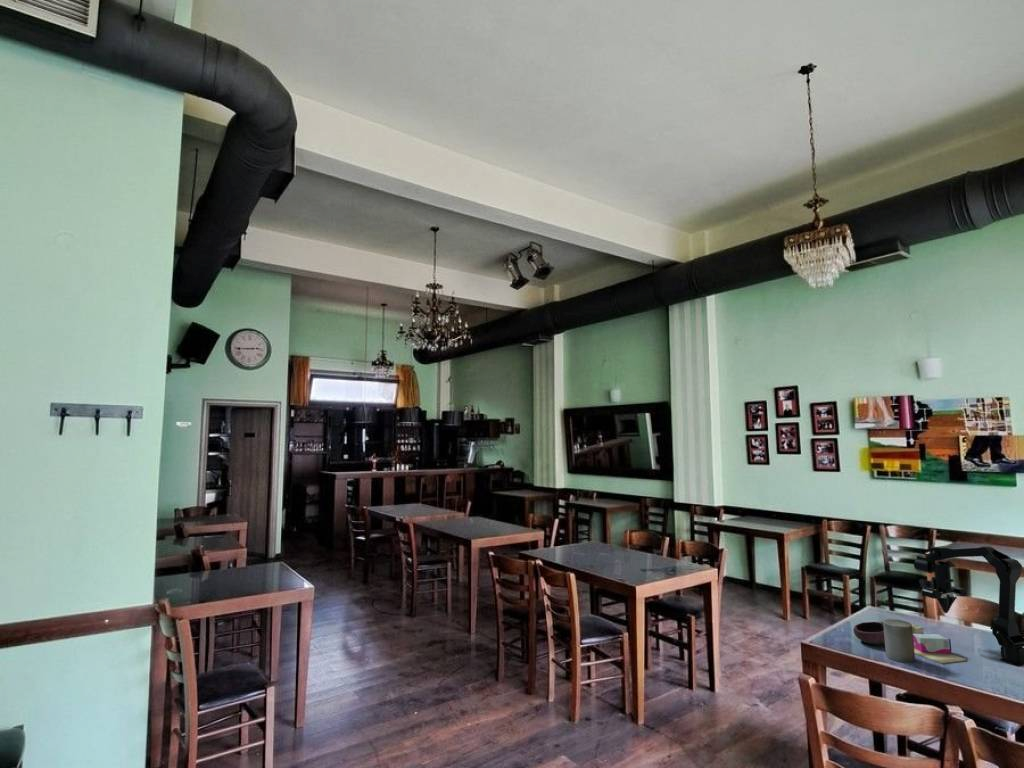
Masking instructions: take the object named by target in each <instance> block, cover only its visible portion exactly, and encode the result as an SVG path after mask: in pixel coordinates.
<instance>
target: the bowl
mask: <svg viewBox="0 0 1024 768" xmlns="http://www.w3.org/2000/svg"><path fill="white" fill-rule="evenodd" d="M853 634H854V636H855V637H856V638H857V639H859V640H860V641H861V642H864V643H866V644H869V645H876V646H877V645H881V644H885V638H884V626H883V620H882V621H881V622H879V621H867V622H866V621H864V622H860V623H858V624H855V625H854V628H853Z"/></svg>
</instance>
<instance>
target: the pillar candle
mask: <svg viewBox="0 0 1024 768" xmlns="http://www.w3.org/2000/svg"><path fill="white" fill-rule="evenodd" d="M882 621H883V626H884V638H885V642H884V647H885V648H884V649H885V656H886V658H889V659H891V660H893V661H895V662H899V663H914V662H916V654H915V653H914V641H913V631H912V624H913V623H911V622H909V621H905V620H902V619H895V618H885V619H883V620H882Z"/></svg>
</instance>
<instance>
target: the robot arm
mask: <svg viewBox="0 0 1024 768" xmlns="http://www.w3.org/2000/svg"><path fill="white" fill-rule="evenodd" d="M966 557H967V558H968V557H969V558H971V557H972V558H973V557H983V558H984V559H985V560H986V562H987V563H988V564H989V565H990V566H992V567H993V568H995V575H996V576H997V578H998V579H999V589H998V591H999V592H998V614H997V617H995V618H991V619H990V623H991V624H990V625H991V626H990V628H989V629H990V630H991V632H992V635H993V637H994V638H995V639H996V641H997V644H998V645H999V646H1000V647H999V648H1000V656H1001V657H1000V658H999V661H1002V662H1005V663H1009V664H1011V665H1014V666H1017V667H1020V666H1024V636H1023V635H1022V634H1021V633H1020V629H1019V625H1018V623H1017V621H1016V619H1015V614H1016V613H1015V611H1016V587H1017V583H1018V580H1019V579H1020V577H1021V575H1022V571H1023V565H1022V564H1021V562H1020V561H1019V560H1017V559H1015V558H1012V557H1010V556H1009V555H1007V554H1005V553H1003V552H1001V551H998V550H997V549H995V548H994V547H992V546H991V545H986V546H985V545H984V546H983V545H982V546H976V547H974V546H973V547H971V546H970V547H952V546H947V545H946V546H945V545H941V546H932V547H931V548H930V549H929V553H928V554H927V556H923V555H916V559H915V560H914V563H913V566H914V567H913V568H914V569H915V570H916V571H918V572H922V573H928V574H934V575H933V576H932V577H931V580H927V579H926V578H921V579H919V585H920V587H923V588H922V589H921V590H920V591H921V592H920V593H921V596H923V597H926V598H931V599H934V600H937V601H938V603H939V605H940V607H941V609H942V611H943V613H944V614H948V613H949V611H950V609H951V607H952V605H953V604H954V602H955V601H956V599H958V597H956V596H954V594H957V595H959V596H961V597H966V596H967V595H968V594H967V590H966V589H965V588H963V587H958V586H954V585H953V586H952V583H954V581H955V580H954V578H952V575H951V568H956V567H957V566H956V564H954V563H953V562H952V561H950V560H951V559H956V558H966Z"/></svg>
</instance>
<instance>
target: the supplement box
mask: <svg viewBox="0 0 1024 768" xmlns="http://www.w3.org/2000/svg"><path fill="white" fill-rule="evenodd" d="M913 641H914V648H915V649H917V650H919V651H920V652H924V653H950V654H953V653H952V652H953V651H952V643H951V641H952V640H951V638H949V637H947V636H945V635H943V634H940V633H939V634H937V633H936V634H934V633H924V634H913Z"/></svg>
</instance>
